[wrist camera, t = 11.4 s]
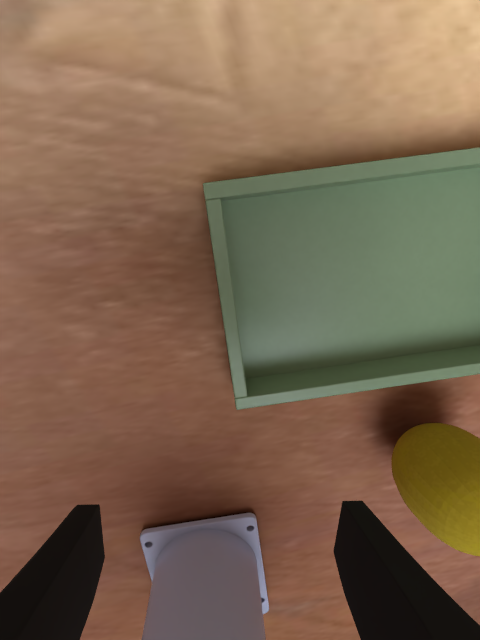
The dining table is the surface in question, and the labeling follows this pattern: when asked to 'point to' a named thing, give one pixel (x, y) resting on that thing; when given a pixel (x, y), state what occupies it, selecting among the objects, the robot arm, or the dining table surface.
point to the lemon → (441, 482)
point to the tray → (349, 276)
